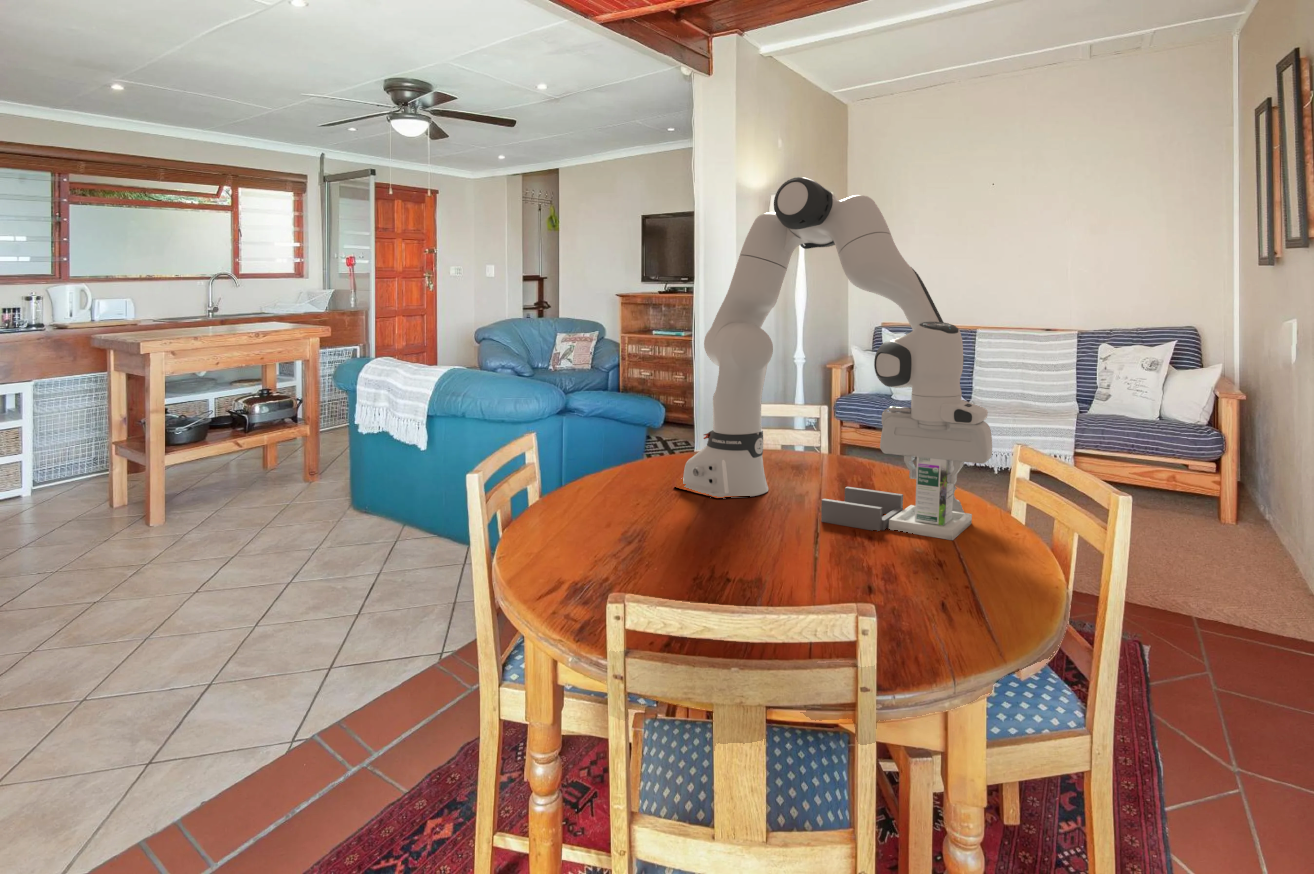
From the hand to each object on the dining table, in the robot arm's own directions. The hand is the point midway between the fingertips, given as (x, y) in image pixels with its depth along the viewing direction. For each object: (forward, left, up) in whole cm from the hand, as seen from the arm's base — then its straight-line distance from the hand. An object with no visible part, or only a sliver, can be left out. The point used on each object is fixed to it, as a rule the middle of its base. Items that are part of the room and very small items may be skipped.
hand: (932, 480), depth 146 cm
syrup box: (0, +2, -8) cm, 9 cm away
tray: (0, 0, -9) cm, 9 cm away
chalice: (0, +13, -9) cm, 16 cm away
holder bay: (-14, -2, -9) cm, 16 cm away
